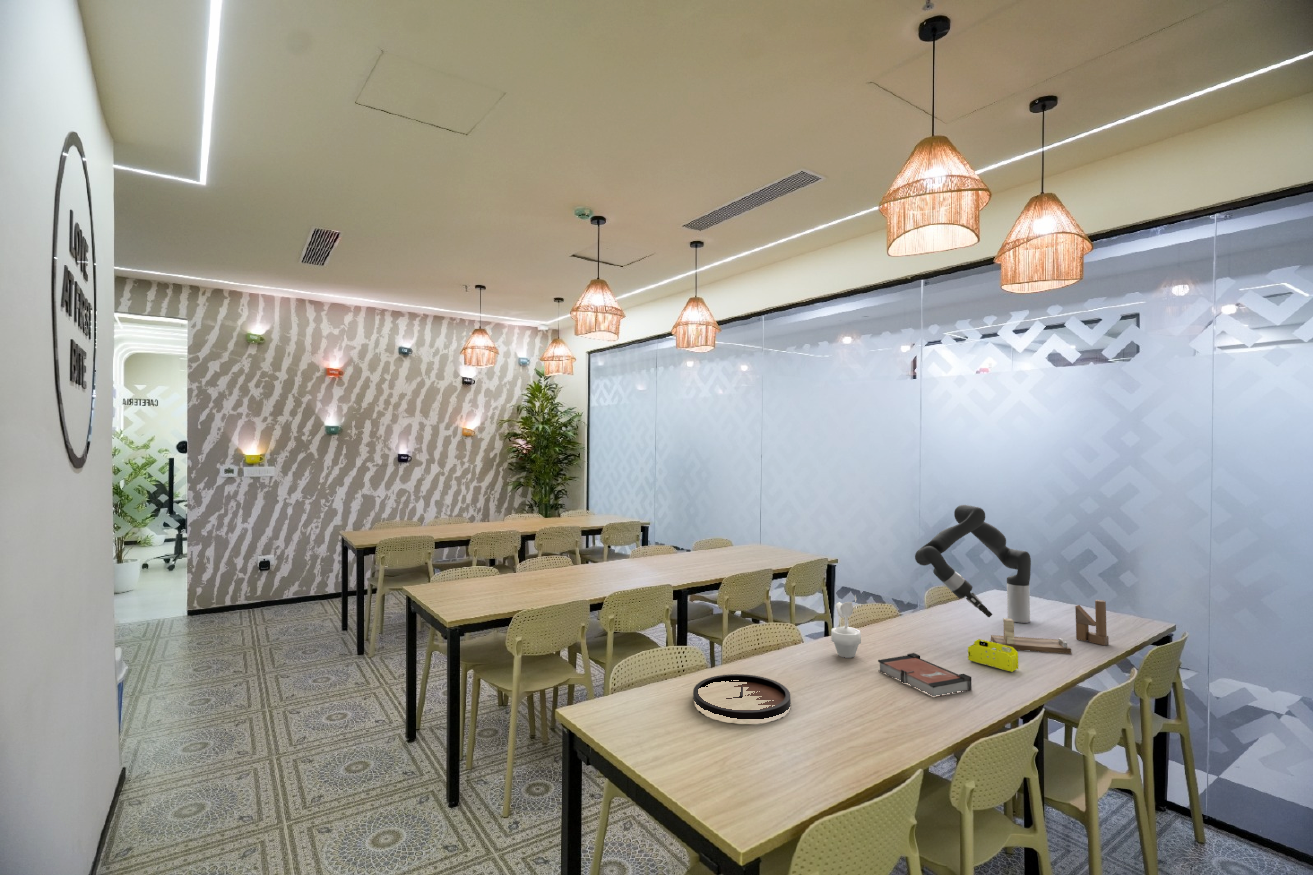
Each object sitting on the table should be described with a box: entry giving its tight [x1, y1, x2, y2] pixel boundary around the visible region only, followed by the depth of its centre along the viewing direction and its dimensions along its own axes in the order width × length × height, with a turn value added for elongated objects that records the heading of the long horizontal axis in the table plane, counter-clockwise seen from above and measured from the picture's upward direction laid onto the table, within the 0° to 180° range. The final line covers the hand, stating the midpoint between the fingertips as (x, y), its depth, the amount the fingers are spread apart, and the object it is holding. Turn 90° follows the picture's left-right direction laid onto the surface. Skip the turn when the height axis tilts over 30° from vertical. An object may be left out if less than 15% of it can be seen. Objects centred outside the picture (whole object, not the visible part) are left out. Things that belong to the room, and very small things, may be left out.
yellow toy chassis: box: [967, 638, 1019, 673], centre depth 229 cm, size 16×6×8 cm, turn 36°
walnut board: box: [990, 634, 1072, 655], centre depth 251 cm, size 12×26×4 cm, turn 74°
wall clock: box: [692, 673, 792, 719], centre depth 198 cm, size 31×4×31 cm
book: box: [877, 652, 973, 697], centre depth 216 cm, size 26×18×5 cm
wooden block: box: [1074, 599, 1110, 646], centre depth 256 cm, size 4×11×18 cm, turn 33°
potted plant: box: [830, 593, 862, 659], centre depth 243 cm, size 13×12×25 cm
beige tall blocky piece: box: [1002, 618, 1015, 644], centre depth 251 cm, size 7×3×9 cm, turn 164°
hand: (988, 613), depth 253 cm, fingers open, 8 cm apart
